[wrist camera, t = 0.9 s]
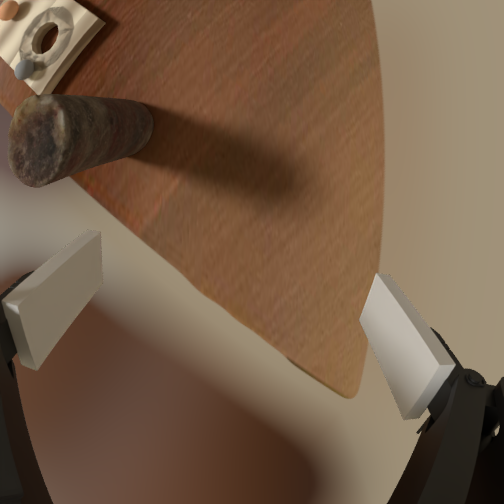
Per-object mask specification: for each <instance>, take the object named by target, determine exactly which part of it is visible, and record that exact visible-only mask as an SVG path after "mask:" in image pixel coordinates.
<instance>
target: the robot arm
mask: <svg viewBox="0 0 504 504" xmlns="http://www.w3.org/2000/svg"><path fill="white" fill-rule="evenodd" d="M102 284H103V273H102V251H101V232H99V231H92V230H86V231H85V232H84V233H82V234H81V235H80V236H78V237H77V238H76V239H74V240H73V241H72V242H71V243H69V244H68V245H67V246H65V247H64V248H63V249H61V250H60V251H59V252H58V253H56V254H55V255H54V256H53V257H51V258H50V259H49V260H48V261H47V262H45V263H44V264H43V265H42V266H40V267H39V268H38V269H37V270H36V271H32V272H29V273H27V274H25V275H23V276H22V277H21V278H20V279H18V281H16V283H14V284H13V285H11V286H10V288H8V289H7V290H6V291H5V292H3V293H2V294H1V295H0V504H53V502H52V500H51V497H50V495H49V493H48V490H47V487H46V485H45V482H44V479H43V477H42V474H41V471H40V468H39V465H38V462H37V460H36V456H35V453H34V450H33V447H32V444H31V440H30V436H29V433H28V429H27V426H26V421H25V417H24V413H23V409H22V404H21V399H20V394H19V389H18V383H17V378H16V371H15V366H14V363H13V360H12V358H13V357H14V356H15V354H16V353H17V354H18V356H19V359H20V362H21V364H22V365H24V366H26V367H29V368H31V369H34V370H36V371H37V370H38V369H39V367H40V366H41V364H42V363H43V362H44V360H45V359H46V357H47V356H48V354H49V353H50V352H51V350H52V349H53V347H54V346H55V345H56V343H57V342H58V341H59V339H60V338H61V336H62V335H63V334H64V333H65V331H66V330H67V328H68V327H69V326H70V325H71V323H72V322H73V321H74V319H75V318H76V317H77V315H78V314H79V313H80V312H81V310H82V309H83V308H84V306H85V305H86V304H87V303H88V301H89V300H90V299H91V298H92V296H93V295H94V294H95V293H96V291H97V290H98V289H99V288H100V286H101V285H102ZM359 321H360V323H361V325H362V328H363V330H364V332H365V334H366V336H367V338H368V340H369V342H370V345H371V346H372V349H373V351H374V353H375V355H376V358H377V360H378V362H379V364H380V367H381V369H382V371H383V373H384V375H385V378H386V380H387V382H388V385H389V387H390V389H391V392H392V394H393V396H394V399H395V401H396V403H397V405H398V408H399V411H400V413H401V416H402V418H403V420H408V419H416V418H420V416H421V415H422V414H423V412H424V411H425V410H426V408H428V410H429V412H430V414H431V415H430V416H429V417H428V418H427V420H426V421H425V422H424V424H423V425H422V426H421V428H420V429H419V430H418V431H417V434H419V433H420V432H421V431H422V432H421V435H420V437H419V439H418V442H417V444H416V446H415V449H414V451H413V453H412V455H411V458H410V460H409V462H408V464H407V466H406V468H405V470H404V472H403V474H402V477H401V479H400V480H399V482H398V484H397V486H396V488H395V490H394V492H393V494H392V496H391V498H390V499H389V501H388V503H387V504H504V377H502V378H501V380H500V381H499V383H498V384H497V385H496V386H494V385H488V384H486V381H485V379H484V378H483V377H482V376H481V375H480V374H479V373H478V372H476V371H474V370H472V369H464V368H463V367H462V366H461V364H460V363H459V361H458V360H457V358H456V357H455V355H454V354H453V352H452V351H451V350H449V349H450V348H449V347H448V345H447V344H445V341H444V340H443V339H442V337H441V336H440V334H438V333H437V332H436V331H435V330H434V329H432V328H431V327H429V326H428V324H427V323H426V322H425V320H424V319H423V317H422V316H421V315H420V313H419V312H418V311H417V309H416V308H415V307H414V305H413V304H412V303H411V301H410V300H409V299H408V298H407V296H406V295H405V294H404V292H403V291H402V290H401V289H400V287H399V286H398V285H397V284H396V282H395V281H394V280H393V278H392V277H391V276H390V275H387V274H380V273H376V275H375V278H374V281H373V284H372V287H371V290H370V292H369V295H368V298H367V301H366V303H365V306H364V309H363V311H362V314H361V317H360V319H359ZM499 425H500V428H499V432H498V434H497V435H496V436H495V432H494V431H495V429H496V428H497V427H498V426H499Z"/></svg>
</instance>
